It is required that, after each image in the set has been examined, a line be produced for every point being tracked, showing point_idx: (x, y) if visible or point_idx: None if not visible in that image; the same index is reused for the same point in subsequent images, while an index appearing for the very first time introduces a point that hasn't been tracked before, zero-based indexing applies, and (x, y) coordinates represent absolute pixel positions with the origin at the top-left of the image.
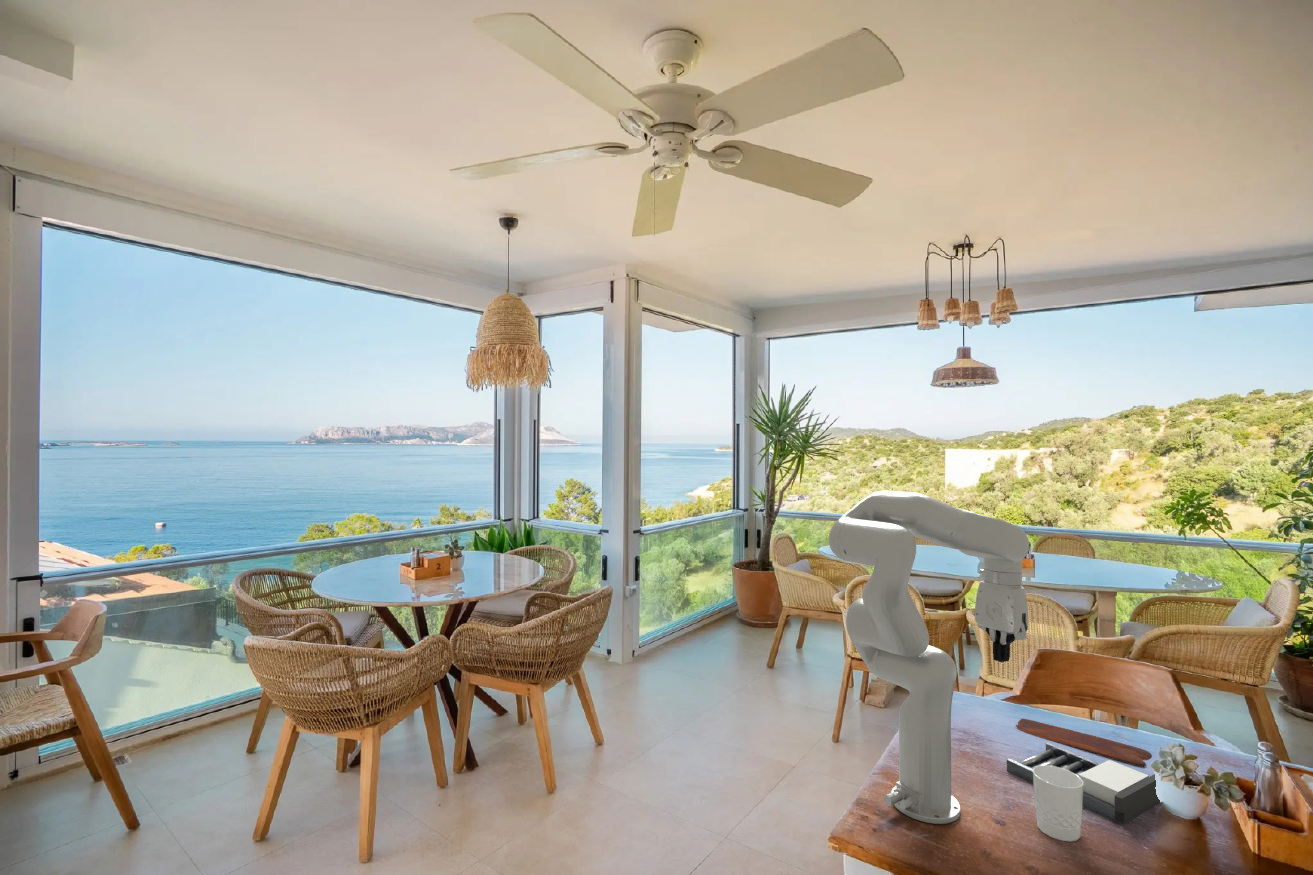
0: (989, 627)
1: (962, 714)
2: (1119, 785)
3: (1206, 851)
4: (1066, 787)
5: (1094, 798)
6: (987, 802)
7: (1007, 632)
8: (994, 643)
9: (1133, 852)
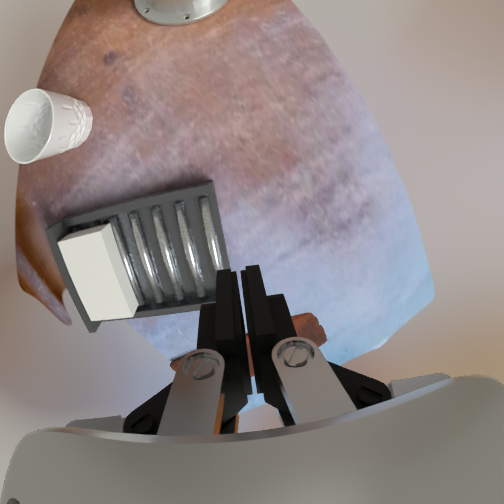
0: (325, 421)
1: (380, 272)
2: (70, 260)
3: (28, 259)
4: (7, 115)
5: (83, 219)
6: (150, 72)
7: (79, 430)
8: (266, 328)
9: (30, 181)
